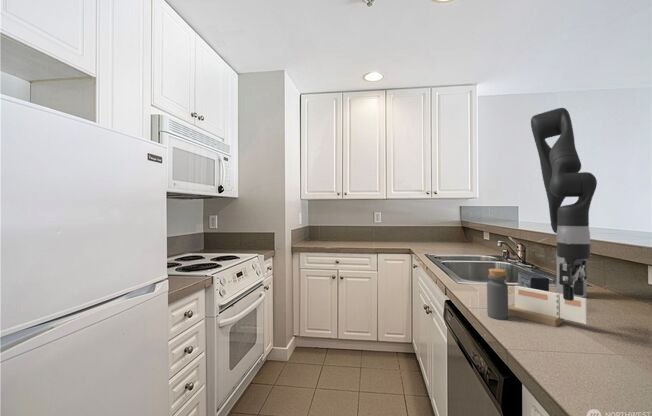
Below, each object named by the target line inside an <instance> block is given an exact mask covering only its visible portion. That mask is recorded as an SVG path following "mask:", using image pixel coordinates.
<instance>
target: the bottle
mask: <svg viewBox="0 0 652 416" xmlns="http://www.w3.org/2000/svg"><path fill="white" fill-rule="evenodd" d="M488 273H489V274H488V275H487V278H488V279H490V280H489V281H488V282H486V299H487V300H486V303H487V304H486V307H487V308H486V309H487V311H486V312H487V313H486V314H487V316H488V317H489V318H491V319H495V320H502V321H503V320H508V319H509V315H508V306H509V286H508V283H506V282H505V281H506V280H507V276H506V270H504V269H501V268H489V269H488Z"/></svg>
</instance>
